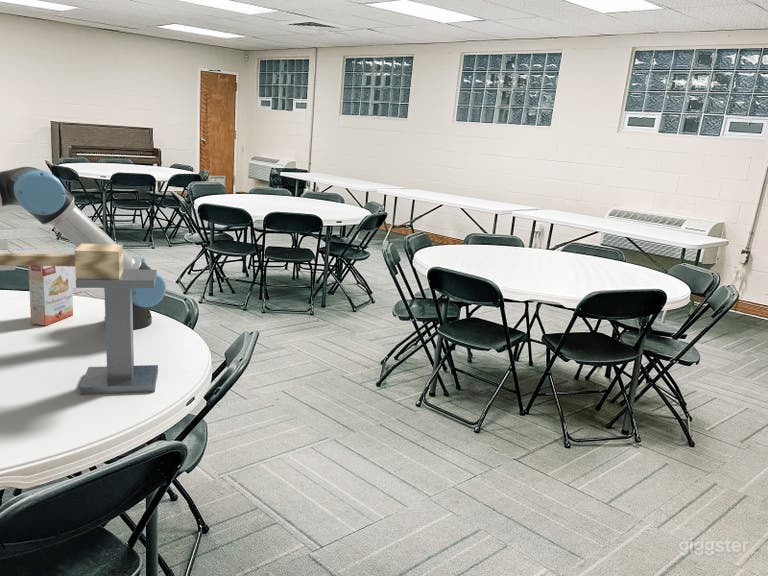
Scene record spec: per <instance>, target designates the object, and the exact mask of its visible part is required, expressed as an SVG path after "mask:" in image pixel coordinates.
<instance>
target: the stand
mask: <svg viewBox="0 0 768 576" xmlns="http://www.w3.org/2000/svg"><path fill="white" fill-rule="evenodd" d="M157 271H158V269H152V270H141V269H123V272H122V274H121V277H120V279H88V278H75V288H76V289H82V288H83V289H104V314H105V316H104V318H105V321H104V325H105V324H106V326H105V348H106V351H105V352H106V354H105V355H106V366H89V367H88V368H87V369H86V372H85V374H84V376H83V379H82V381H81V384H80V385H79V395H80V396H83V395H106V394H107V395H108V394H112V395H113V394H133V393H138V394H139V393H154V392H156V386H157V380H158V375H159V374H158V373H159V365H158V364H153V365H152V364H151V365H150V364H149V365H148V364H147V365H135V362H134V361H135V357H134V356H135V355H134V329H133V301H132V288H154V286H155V282H156V278H157V273H158V272H157Z"/></svg>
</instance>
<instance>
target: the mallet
mask: <svg viewBox="0 0 768 576" xmlns="http://www.w3.org/2000/svg"><path fill="white" fill-rule="evenodd" d="M123 250H124V245H123V244H118V243H116V244H80V245H79V246H78V247H76V248H75V249H74V254H67V253H66V254H65V253H64V254H61V253H60V254H59V253H55V254H54V253H53V254H52V253H13V252H12V253H10V252H9V253H6V252H5V253H4V252H0V265H4V266H15V267H19V266H20V267H26V266H27V267H28V266H72V268H73V267H75V268H74V269H75V270H74V271H75V279H77V278H88V279H120V277H121V274H122V272H123Z"/></svg>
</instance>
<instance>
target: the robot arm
mask: <svg viewBox="0 0 768 576" xmlns="http://www.w3.org/2000/svg"><path fill="white" fill-rule="evenodd" d="M5 206H20V207H21V208H23V209H24V210H25V211H27V212H28V213H29V214H30V215H31V216H32V217H34V218H35V220H37V221H39V223H40V224H42V225H46V226H47V225H48V226H49V225H51V226H52V227H53V228H55V229H56V230H57V231H58V232H59V233H60V234H62V236H64V237H65V238H66V239H67V240H68V241H69V242H71V243H72V244H73V245H74V246H75V247H76V248H77V247H78V246H79V245H80V244H117V243H116V242H115V240H113V238H111V237H110V236H109V234H107V233H106V232H105V231H104V230H103V229H101V228H100V227H99V226H98V225H97V224H96V223H95V222H94V221H93V220H92V219H90V217H89V216H88V215H86V214H85V213H84V212H83V211H82V210H81V209H80V208H79V207H78V206H77V205H76V204H75V196H74V195H72V194H71V192H69V190H67V188H65V186H64V185H63V183H62V182H61V181H60V179H59V178H58V177H57V176H55V175H54V174H53V173H50V172H48V171H46V170H42V169H39V168H36V167H33V166H20V167H16V168H12V169H8V170H2V171H0V207H5ZM9 242H10V241H9V238H5V239H3V238H2V239H1V238H0V251H9V250H10V249H9V246H10V245H9ZM123 269H141V270H153V269H152V268H151V267H150V266H149V265H147V262H146V259H145V258H144V257H142V256H131V255H129V253H128V252H127V251H125V250H124V249H123ZM1 271H16V266H4V265H0V272H1ZM166 292H167V285H166V281H165V279H164V278H163V276H162V275H161V274H160V273H158V272H157V278H156V282H155V286H154V288H132V301H133V330H137V329H138V330H139V329H143V328H145V327H149V326H150V325H151V324H152V323H153V320H152V319H153V317H152V316H153V315H152V313H151V310H150V308H149V307H154V306H156V305H157V304H159V303H160V302H161V301H162V299H163V298H164V296H165V295H166ZM104 322H105V317H104ZM104 326H105V327H106V324H105V323H104Z"/></svg>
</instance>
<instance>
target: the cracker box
mask: <svg viewBox="0 0 768 576" xmlns="http://www.w3.org/2000/svg"><path fill="white" fill-rule="evenodd" d="M27 268H28V283H29V284H28V285H29V288H28V289H29V305H30V306H29V307H30V324H31V325H38V326H43V327H46V326H48V325H52V324H54V323H57V322H59V321H61V320H65V319H67V318H69V317H73V316H74V304H73V300H74V299H73V298H74V297H73V266H27Z"/></svg>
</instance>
